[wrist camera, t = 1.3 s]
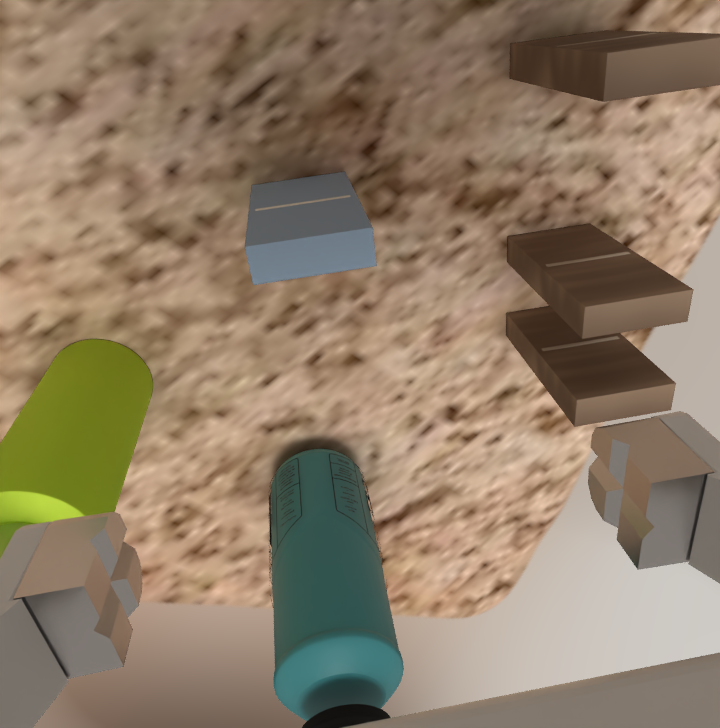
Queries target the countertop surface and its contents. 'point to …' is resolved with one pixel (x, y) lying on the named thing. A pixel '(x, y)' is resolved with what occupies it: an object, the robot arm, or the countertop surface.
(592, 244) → the domino
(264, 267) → the domino
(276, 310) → the countertop surface
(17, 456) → the soap dispenser
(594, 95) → the domino
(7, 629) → the robot arm
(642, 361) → the domino
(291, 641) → the beverage bottle
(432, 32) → the countertop surface
